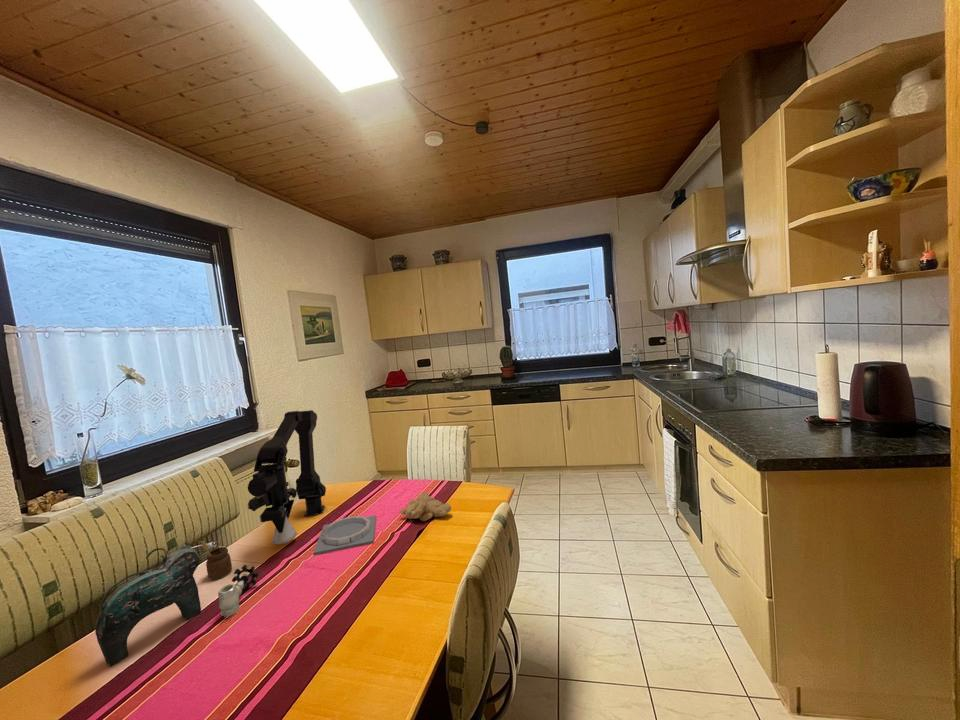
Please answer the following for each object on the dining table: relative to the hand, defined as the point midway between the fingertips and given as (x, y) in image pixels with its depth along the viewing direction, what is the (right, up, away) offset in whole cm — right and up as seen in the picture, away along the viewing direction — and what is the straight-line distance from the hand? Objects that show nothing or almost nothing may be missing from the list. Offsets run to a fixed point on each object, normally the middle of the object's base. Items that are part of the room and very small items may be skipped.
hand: (283, 528), depth 127 cm
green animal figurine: (-11, -10, -36) cm, 38 cm away
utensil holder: (-12, -8, -13) cm, 19 cm away
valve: (+2, -8, -27) cm, 28 cm away
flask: (0, -4, 0) cm, 4 cm away
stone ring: (+20, -3, +3) cm, 21 cm away
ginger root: (+45, 0, +11) cm, 46 cm away
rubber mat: (+20, -3, +3) cm, 21 cm away
